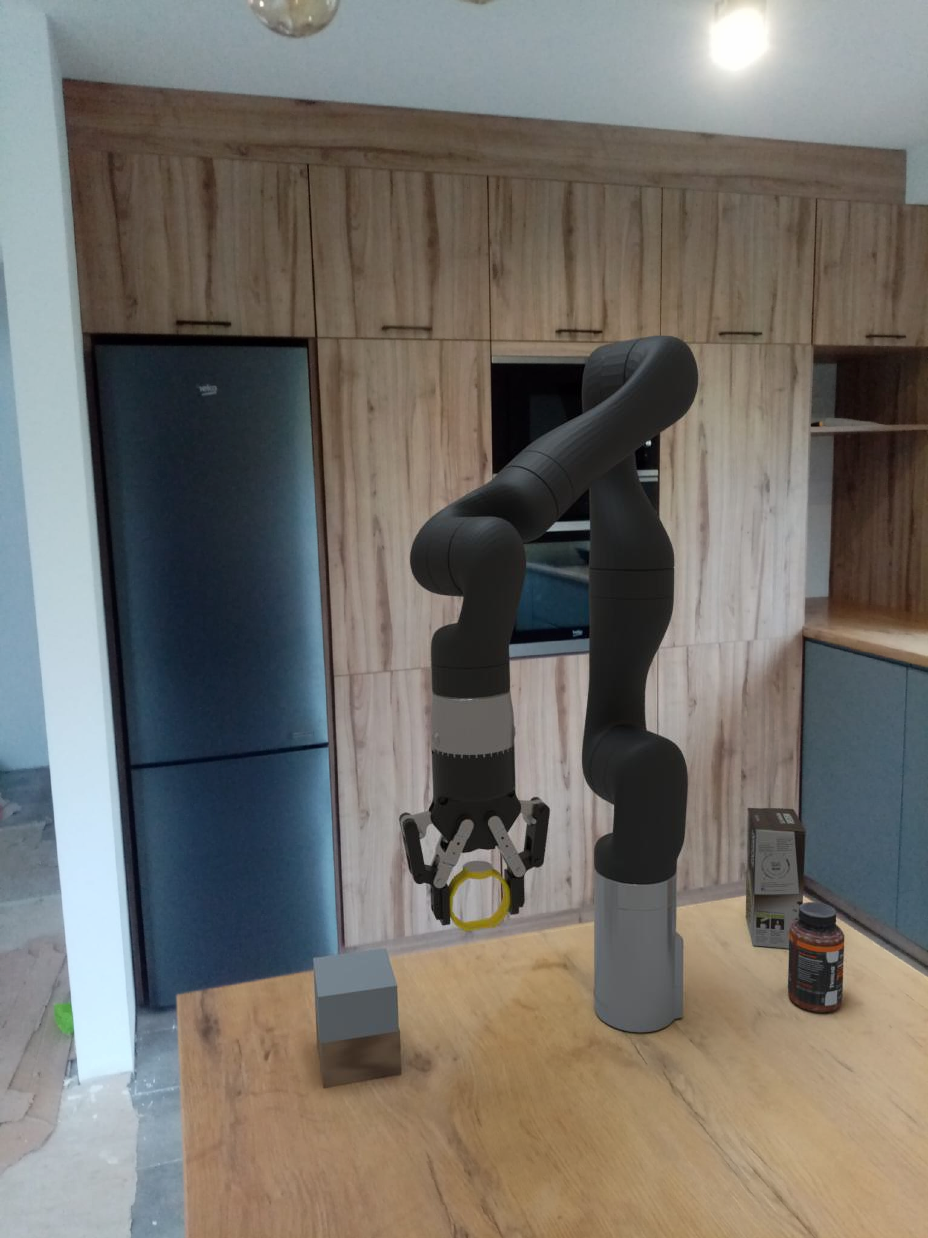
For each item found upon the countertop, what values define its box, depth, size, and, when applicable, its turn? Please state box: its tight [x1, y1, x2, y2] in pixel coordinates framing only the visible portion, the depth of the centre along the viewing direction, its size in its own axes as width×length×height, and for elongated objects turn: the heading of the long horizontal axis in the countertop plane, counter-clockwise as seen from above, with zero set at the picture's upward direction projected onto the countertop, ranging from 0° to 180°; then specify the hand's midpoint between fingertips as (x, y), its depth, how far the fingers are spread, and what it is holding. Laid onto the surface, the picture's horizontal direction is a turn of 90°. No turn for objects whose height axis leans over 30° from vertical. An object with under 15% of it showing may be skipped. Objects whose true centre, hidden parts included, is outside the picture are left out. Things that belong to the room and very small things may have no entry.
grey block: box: [312, 947, 400, 1044], centre depth 94 cm, size 8×8×5 cm
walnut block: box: [314, 1003, 402, 1089], centre depth 94 cm, size 8×8×5 cm
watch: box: [448, 860, 510, 932], centre depth 82 cm, size 6×3×6 cm, turn 106°
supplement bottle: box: [787, 901, 845, 1013], centre depth 103 cm, size 6×6×11 cm
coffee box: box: [745, 807, 807, 950], centre depth 119 cm, size 9×6×16 cm
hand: (478, 915), depth 82 cm, fingers closed on watch, 6 cm apart
